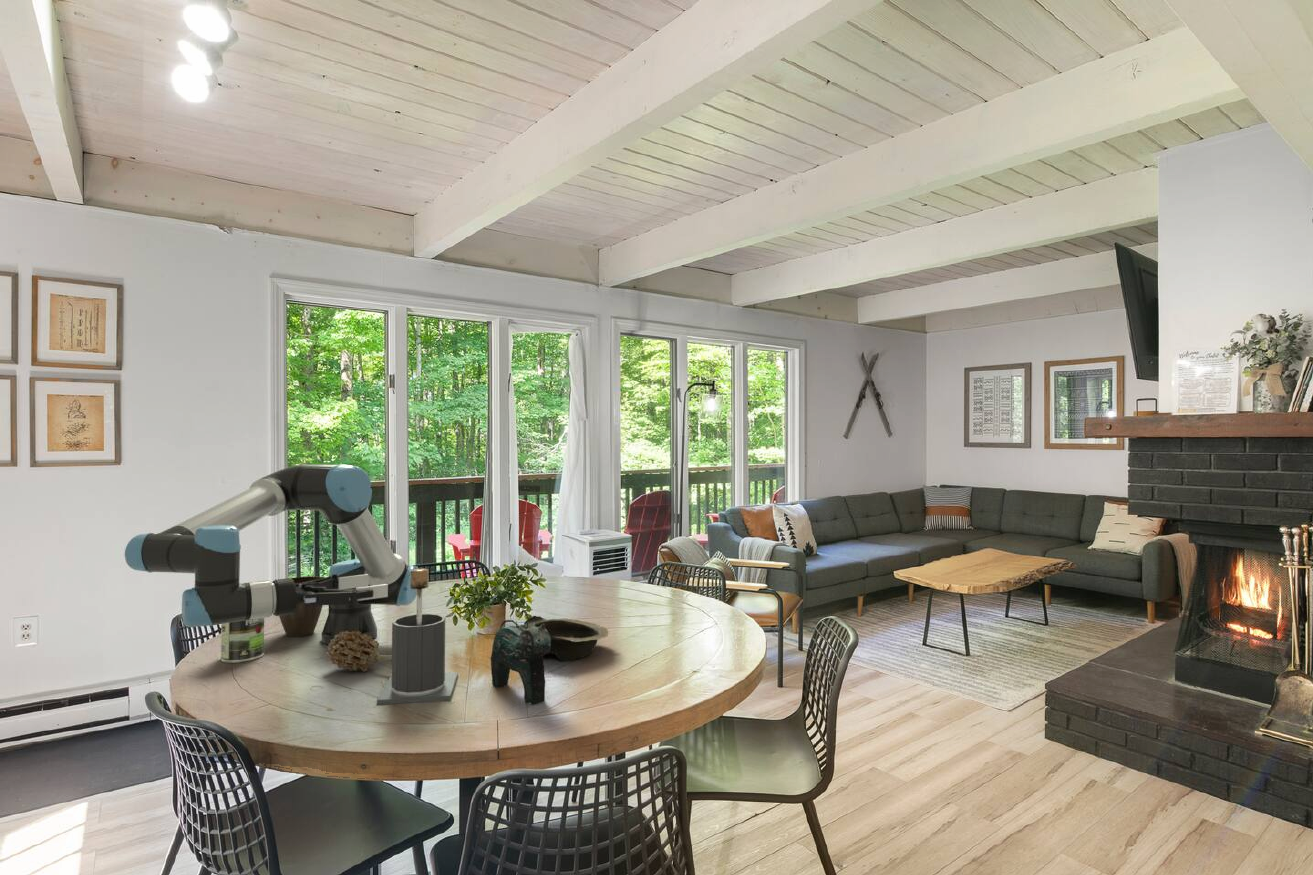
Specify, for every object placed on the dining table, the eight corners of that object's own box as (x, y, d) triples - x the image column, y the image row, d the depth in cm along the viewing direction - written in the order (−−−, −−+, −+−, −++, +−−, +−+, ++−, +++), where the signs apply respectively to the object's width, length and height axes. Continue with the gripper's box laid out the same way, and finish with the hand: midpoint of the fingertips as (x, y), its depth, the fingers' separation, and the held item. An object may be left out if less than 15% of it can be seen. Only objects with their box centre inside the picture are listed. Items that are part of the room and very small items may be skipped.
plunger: (401, 676, 166) (402, 567, 166) (441, 674, 168) (442, 566, 168) (394, 690, 157) (395, 574, 157) (436, 688, 159) (437, 573, 159)
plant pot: (311, 641, 201) (311, 586, 201) (261, 640, 201) (261, 586, 201) (336, 627, 216) (336, 576, 216) (289, 626, 216) (289, 575, 216)
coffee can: (273, 652, 190) (273, 601, 190) (244, 664, 180) (244, 610, 180) (241, 649, 193) (242, 599, 193) (210, 661, 182) (211, 608, 182)
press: (391, 679, 170) (391, 611, 170) (457, 675, 173) (458, 608, 173) (376, 704, 154) (377, 628, 154) (450, 699, 157) (451, 626, 157)
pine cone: (316, 675, 173) (317, 635, 173) (338, 662, 182) (338, 625, 182) (399, 679, 170) (400, 639, 170) (417, 666, 180) (417, 628, 180)
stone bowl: (501, 657, 188) (503, 622, 188) (555, 640, 210) (556, 610, 210) (576, 671, 176) (577, 634, 177) (625, 652, 198) (626, 619, 199)
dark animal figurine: (553, 702, 157) (553, 615, 157) (529, 709, 152) (530, 620, 152) (506, 679, 171) (506, 599, 171) (483, 686, 166) (483, 603, 166)
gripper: (260, 604, 152) (360, 591, 166) (285, 629, 133) (395, 612, 146) (261, 570, 152) (360, 560, 166) (285, 590, 133) (396, 577, 146)
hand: (377, 584), depth 156 cm, fingers open, 13 cm apart
